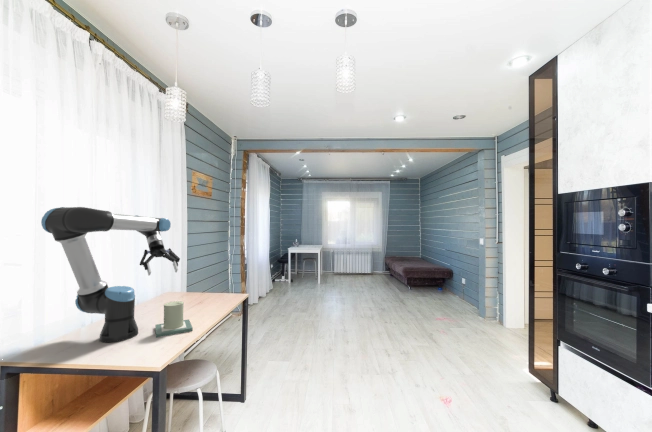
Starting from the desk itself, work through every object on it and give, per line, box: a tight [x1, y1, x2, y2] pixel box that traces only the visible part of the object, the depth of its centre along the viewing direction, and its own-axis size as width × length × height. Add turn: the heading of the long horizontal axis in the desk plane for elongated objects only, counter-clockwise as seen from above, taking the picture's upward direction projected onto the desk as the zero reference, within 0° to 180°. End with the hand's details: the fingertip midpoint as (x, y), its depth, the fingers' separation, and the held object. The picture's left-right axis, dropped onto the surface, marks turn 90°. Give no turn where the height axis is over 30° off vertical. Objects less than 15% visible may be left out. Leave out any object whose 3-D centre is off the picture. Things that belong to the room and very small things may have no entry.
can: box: [163, 300, 184, 329], centre depth 148 cm, size 9×9×12 cm
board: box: [154, 319, 193, 338], centre depth 148 cm, size 16×16×2 cm
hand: (163, 272), depth 159 cm, fingers open, 13 cm apart
